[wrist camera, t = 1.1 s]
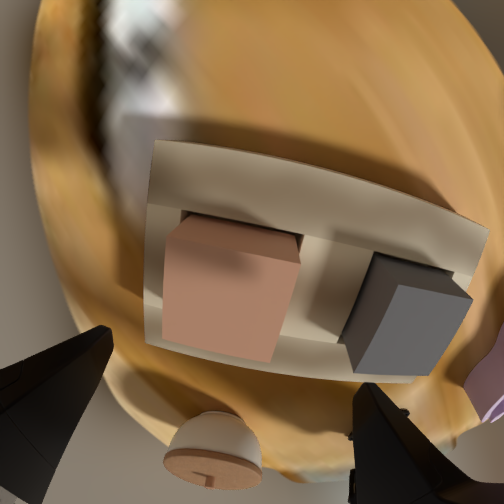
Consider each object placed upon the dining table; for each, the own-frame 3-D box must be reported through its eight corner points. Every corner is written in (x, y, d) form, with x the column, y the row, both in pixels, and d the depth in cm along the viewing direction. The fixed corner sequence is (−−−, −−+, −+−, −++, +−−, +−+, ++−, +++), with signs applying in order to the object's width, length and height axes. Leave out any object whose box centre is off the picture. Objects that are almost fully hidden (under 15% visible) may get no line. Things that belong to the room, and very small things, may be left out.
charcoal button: (409, 340, 18) (428, 375, 14) (341, 332, 18) (353, 373, 14) (443, 271, 15) (473, 299, 12) (373, 253, 15) (398, 284, 12)
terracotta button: (271, 320, 18) (269, 363, 14) (182, 301, 18) (162, 338, 14) (294, 235, 15) (300, 264, 12) (191, 214, 15) (166, 235, 12)
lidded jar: (260, 446, 30) (255, 504, 22) (183, 435, 31) (167, 489, 22) (271, 405, 26) (267, 479, 18) (174, 391, 27) (149, 459, 18)
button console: (396, 350, 23) (411, 383, 18) (164, 310, 23) (145, 342, 18) (457, 213, 17) (490, 229, 13) (181, 140, 17) (154, 139, 13)
